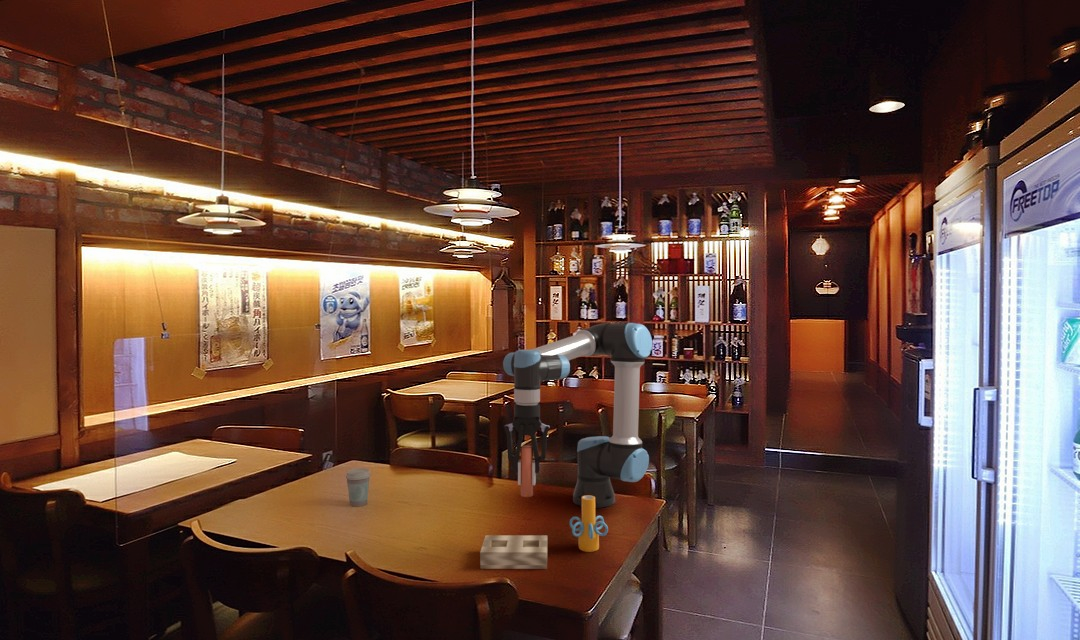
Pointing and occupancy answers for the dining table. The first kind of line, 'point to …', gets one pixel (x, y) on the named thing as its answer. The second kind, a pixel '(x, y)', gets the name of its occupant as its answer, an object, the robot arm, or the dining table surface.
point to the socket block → (514, 552)
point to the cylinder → (588, 526)
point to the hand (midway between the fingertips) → (526, 483)
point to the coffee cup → (358, 486)
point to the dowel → (526, 471)
